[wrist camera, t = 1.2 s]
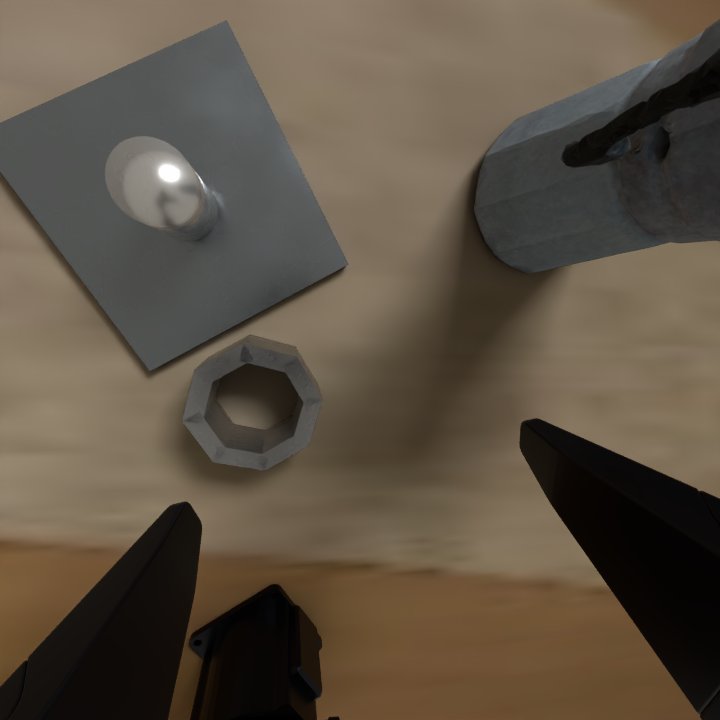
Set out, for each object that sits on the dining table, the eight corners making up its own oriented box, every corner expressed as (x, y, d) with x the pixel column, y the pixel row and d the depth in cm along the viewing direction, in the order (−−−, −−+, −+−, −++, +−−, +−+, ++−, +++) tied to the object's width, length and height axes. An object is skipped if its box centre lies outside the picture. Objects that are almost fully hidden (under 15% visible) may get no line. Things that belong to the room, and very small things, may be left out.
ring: (240, 461, 21) (233, 489, 18) (177, 373, 19) (158, 389, 16) (332, 408, 21) (339, 427, 18) (279, 318, 19) (278, 324, 16)
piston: (154, 368, 18) (108, 397, 14) (-15, 141, 15) (-156, 73, 10) (346, 264, 19) (366, 257, 15) (228, 29, 16) (204, -79, 11)
